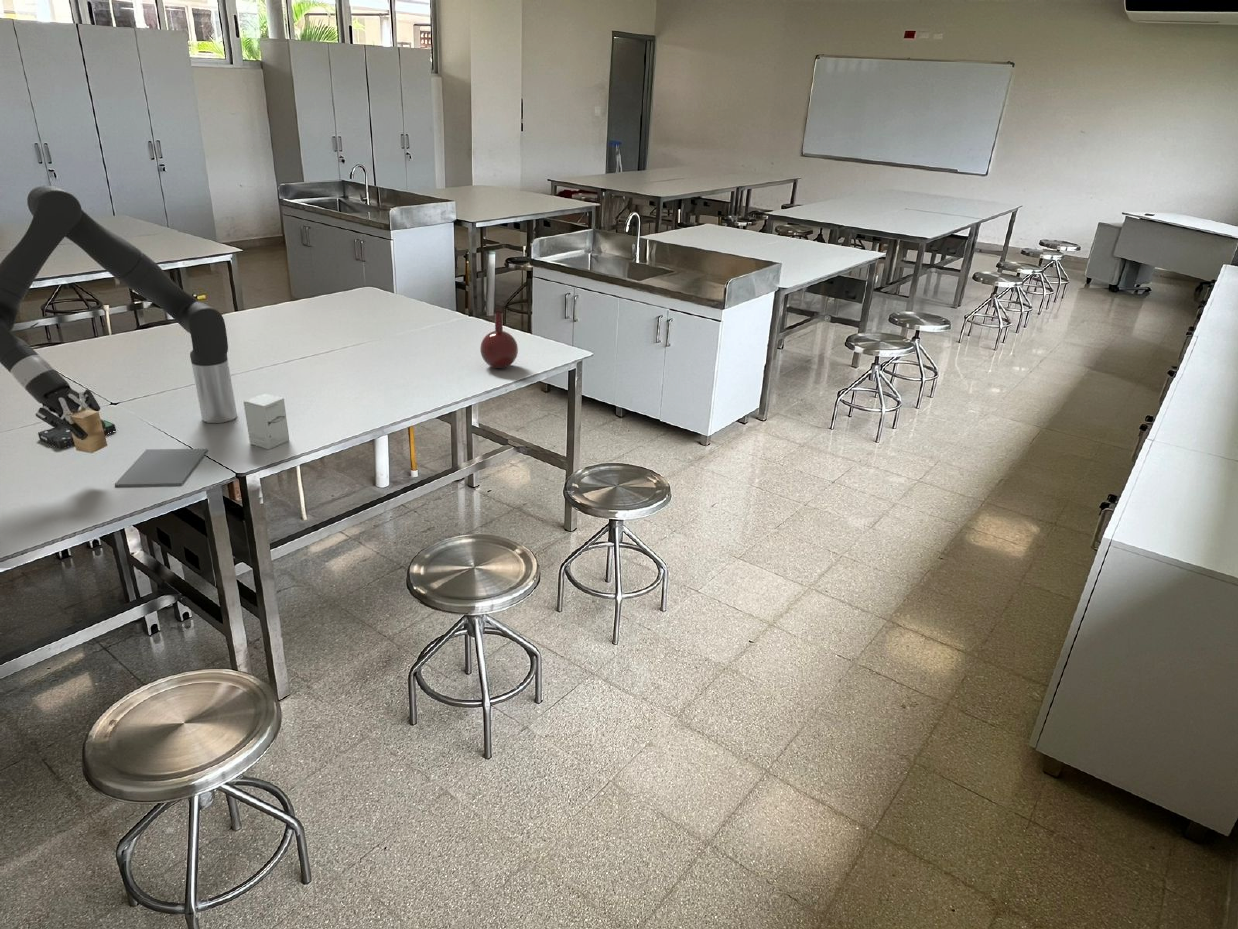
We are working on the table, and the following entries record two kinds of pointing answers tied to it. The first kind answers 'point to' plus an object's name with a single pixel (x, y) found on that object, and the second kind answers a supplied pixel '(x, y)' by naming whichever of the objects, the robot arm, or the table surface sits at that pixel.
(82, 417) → the oak block
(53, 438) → the disk drive
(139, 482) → the rubber mat
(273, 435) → the supplement box
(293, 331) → the table surface
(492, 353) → the round-bottom flask
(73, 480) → the table surface
